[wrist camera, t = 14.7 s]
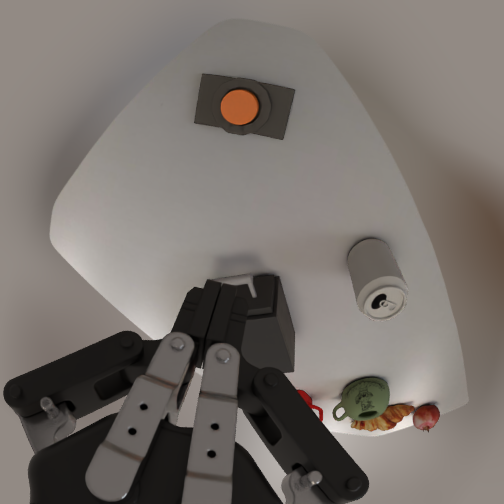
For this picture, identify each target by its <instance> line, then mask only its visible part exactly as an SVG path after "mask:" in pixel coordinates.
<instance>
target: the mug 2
mask: <svg viewBox="0 0 504 504" xmlns="http://www.w3.org/2000/svg"><path fill="white" fill-rule="evenodd" d="M389 397H390V392H389V387H388V385H387V383H386V382H385V381H384V380H381V379H377V378H365V379H361V380H357V381H355V382H353V383H351V384H350V385H349V386H348V387H346V388H345V389H344V391H343V393H342V399H341V402H340V403H339V404H338V405H337V406H336V407H335V408H334V409H333V417H334V419H335V420H337V421H341V420H343V419H344V418H346V417H347V416H349V417H350V418H352V419H354V420H357V421H366V420H371V419H374V418H376V417H379V416H380V415H382V414H383V412H384V411H385V410H386V408H387V406H388V404H389ZM341 407H343V408H344V410H345V413H344V414H343V415H342V416H341V417H340V418H337V416H336V411H337V409H339V408H341Z"/></svg>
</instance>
